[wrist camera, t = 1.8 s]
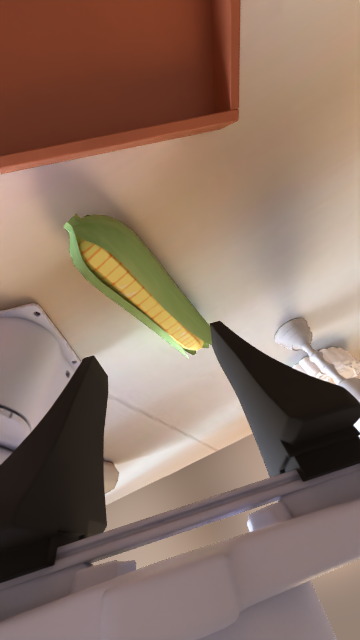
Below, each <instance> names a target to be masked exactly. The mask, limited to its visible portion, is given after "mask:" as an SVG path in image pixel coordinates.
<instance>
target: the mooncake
mask: <svg viewBox="0 0 360 640" xmlns="http://www.w3.org/2000/svg"><path fill="white" fill-rule="evenodd" d="M318 352H322V353H323V358H324V360H325V361H327V362H329V363H331V364H334V365H335V369H336V370H337V371H338V373H339V374H340V375H341V376H343V377H344V378H346V379H347V378H356V377H357V375H358V373H359V371H360V362H359V361H358V360H357V359H355V358H354V357H353V356H352V355H351V354H349V353H348V352H347V351H346V350H344V349H342V348H340V347H338V348H335V347H330V348H328V349H321V350H319V351H318ZM309 359H310V357H309V356H308V357H306V358H303V359H302V360H301V361H300V362H299V363H298V364H296V365H294V366H293V368H294V369H296V370H298V371H300V372H303V373H305V374H308V375H310V376H313V377H315V378H318V379H321V380H324V381H327V382H330V383H333V384H336V382H335V381H334V379H333V378H332V377H330V376H329V375H327V374H326V373H322V371H321V367H320V366H319V364H317V363H316V362H312V361H310V360H309ZM336 385H337V384H336Z"/></svg>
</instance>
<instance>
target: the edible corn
mask: <svg viewBox="0 0 360 640" xmlns="http://www.w3.org/2000/svg"><path fill="white" fill-rule="evenodd" d="M63 227H64V228H65V229H66V230H67V231H68V232H69V235H70V248H69V252H70V255H71V258H72V261H73V264H74V266H75V267H76V268H77V269H78V270H79V272H80V273H81V274H82V275H83V276H84V278H85V279H86V280H87V281H89V282H90V283H91V284H92V285H94V286H95V287H96V288H97V289H99V290H100V291H101V292H102V293H104V294H105V295H106V296H107V297H109V298H110V299H111V300H113V301H114V302H116V303H117V304H118V305H120V306H121V307H122V308H124V309H125V310H126V311H128V312H129V313H131V314H132V315H133V316H135V317H136V318H137V319H139V320H140V321H141V322H142V323H144V324H145V325H146V326H148V327H149V328H150V329H152V330H153V331H154V332H155V333H157V334H158V335H159V336H161V337H162V338H163V339H164V340H166V341H167V342H168V343H170V344H171V345H172V346H173V347H175V348H176V349H177V350H178V351H180V352H181V353H182V354H183V355H185V356H186V357H187V358H188V359H189V357H188V356H187V354H186V352H188V353H190V354H192V355H194V354H196V350H199V349H200V348H209V344H210V345H212V339H211V329H210V326H209V324H208V323H207V322H206V321H205V320H204V319H203V317H202V316H201V315H200V314H199V313H198V311H197V310H196V309H195V308H194V306H193V305H192V304H191V303H190V302H189V300H188V299H187V298H186V297H185V295H184V294H183V293H182V292H181V291H180V289H179V288H178V287H177V286H176V284H175V283H174V282H173V280H172V279H171V278H170V276H169V275H168V274H167V272H166V271H165V270H164V269H163V267H162V266H161V265H160V263H159V262H158V261H157V259H156V258H155V257H154V256H153V254H152V253H151V252H150V251H149V249H148V248H147V247H146V246H145V244H144V243H143V242H142V241H141V239H140V238H139V237H138V236H137V235H136V234H135V233H134V232H133V231H132V230H130V229H129V228H128V227H127V226H126V225H124V224H123V223H122V222H121V221H118V220H116V219H113V218H111V217H109V216H102V215H86V216H85V217H83V218H80V217H79V216H78V215H77V214H75V215H74V216H73V217H72V218H71V219H70V220H69V221H68V222H67V223H66V224H65V225H64V226H63ZM185 351H186V352H185Z"/></svg>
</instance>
